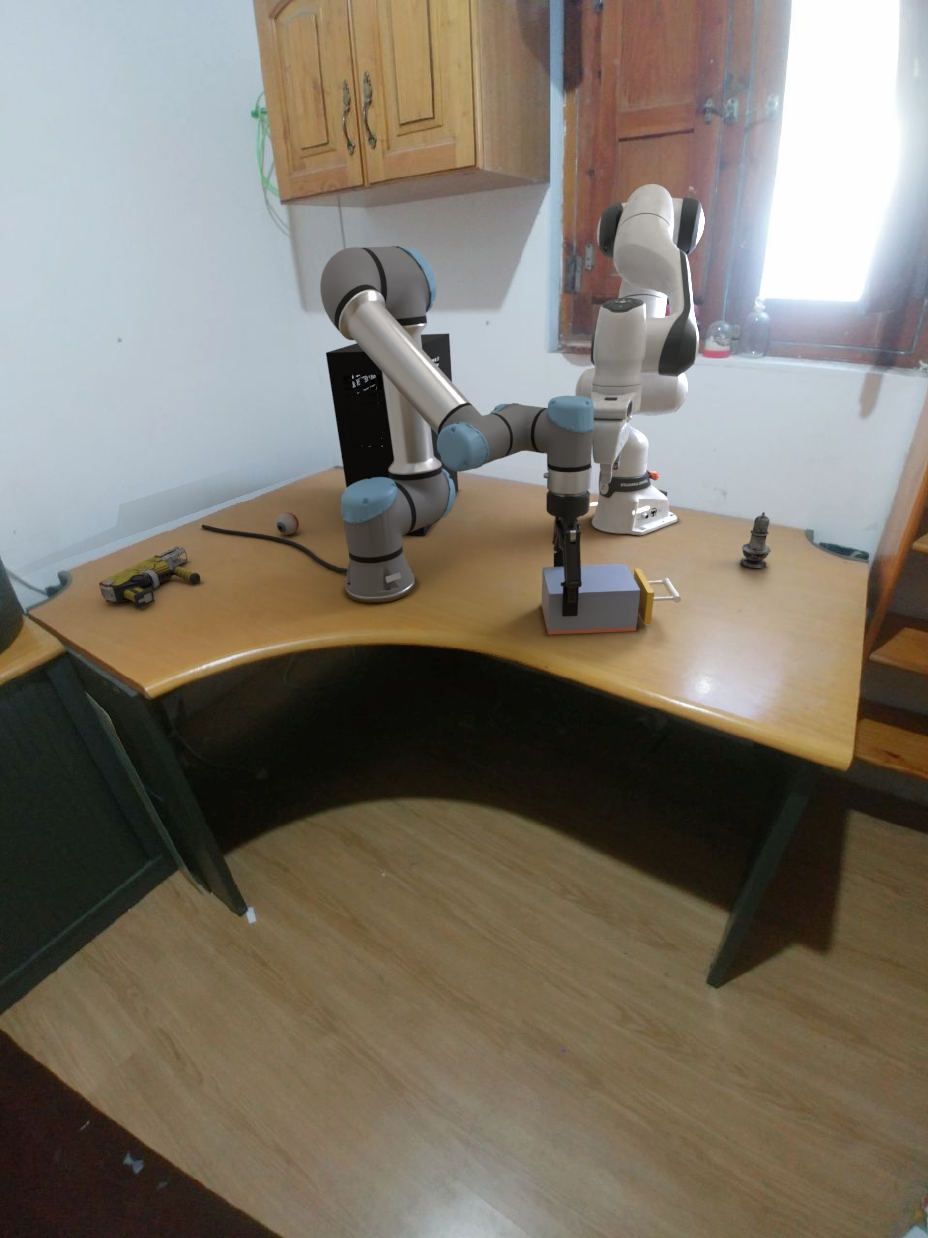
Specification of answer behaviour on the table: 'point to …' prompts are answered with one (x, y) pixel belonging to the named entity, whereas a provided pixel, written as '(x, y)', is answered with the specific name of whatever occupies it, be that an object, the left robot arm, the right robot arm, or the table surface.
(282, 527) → the eyeball
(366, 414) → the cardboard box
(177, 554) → the toy gun
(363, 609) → the table surface
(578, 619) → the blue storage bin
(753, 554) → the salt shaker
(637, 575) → the drawer
